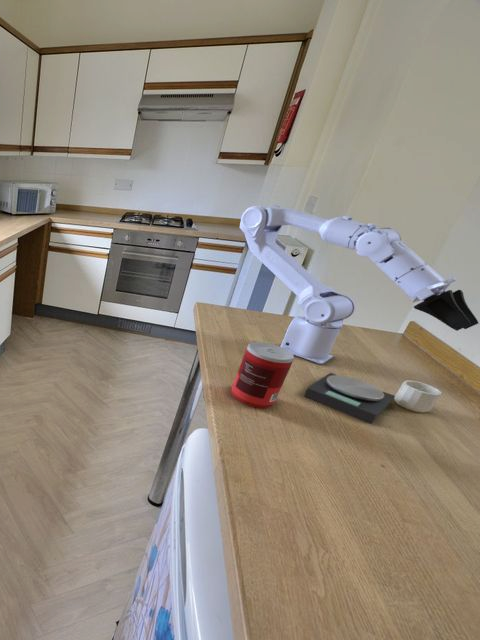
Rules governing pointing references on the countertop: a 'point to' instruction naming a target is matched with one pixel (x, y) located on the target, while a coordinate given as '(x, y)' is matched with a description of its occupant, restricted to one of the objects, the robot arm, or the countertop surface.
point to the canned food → (261, 374)
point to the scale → (347, 401)
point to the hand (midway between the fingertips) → (468, 327)
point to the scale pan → (355, 388)
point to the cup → (417, 396)
